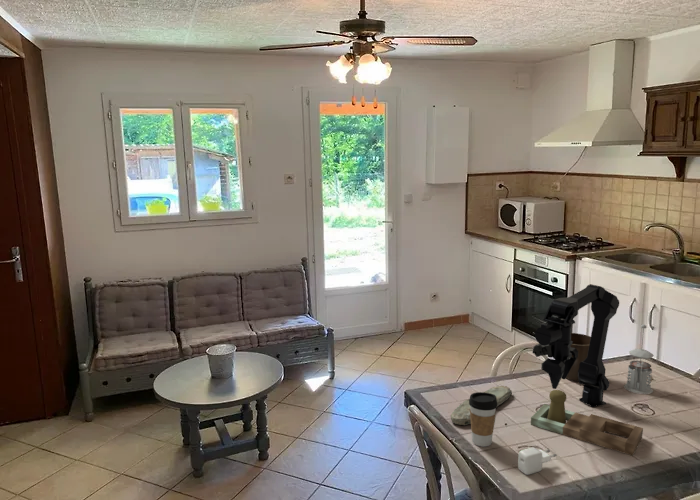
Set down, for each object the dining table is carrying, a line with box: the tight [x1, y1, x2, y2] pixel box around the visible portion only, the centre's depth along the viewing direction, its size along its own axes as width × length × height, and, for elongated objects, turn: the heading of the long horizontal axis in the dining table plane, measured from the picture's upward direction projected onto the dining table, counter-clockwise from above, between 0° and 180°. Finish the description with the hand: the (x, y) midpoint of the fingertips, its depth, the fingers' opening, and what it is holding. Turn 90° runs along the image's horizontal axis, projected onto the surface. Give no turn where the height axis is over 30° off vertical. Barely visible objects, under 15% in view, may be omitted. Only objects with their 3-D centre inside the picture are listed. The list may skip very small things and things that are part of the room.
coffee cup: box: [468, 391, 498, 447], centre depth 167 cm, size 8×8×15 cm
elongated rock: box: [450, 385, 513, 426], centre depth 191 cm, size 35×5×10 cm
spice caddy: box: [530, 403, 644, 456], centre depth 174 cm, size 30×12×4 cm, turn 51°
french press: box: [623, 324, 654, 395], centre depth 202 cm, size 10×12×25 cm
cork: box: [546, 389, 567, 424], centre depth 179 cm, size 6×6×11 cm
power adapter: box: [517, 446, 557, 476], centre depth 154 cm, size 11×5×6 cm, turn 114°
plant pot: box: [565, 332, 591, 382], centre depth 215 cm, size 15×15×16 cm
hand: (559, 383), depth 180 cm, fingers open, 9 cm apart
